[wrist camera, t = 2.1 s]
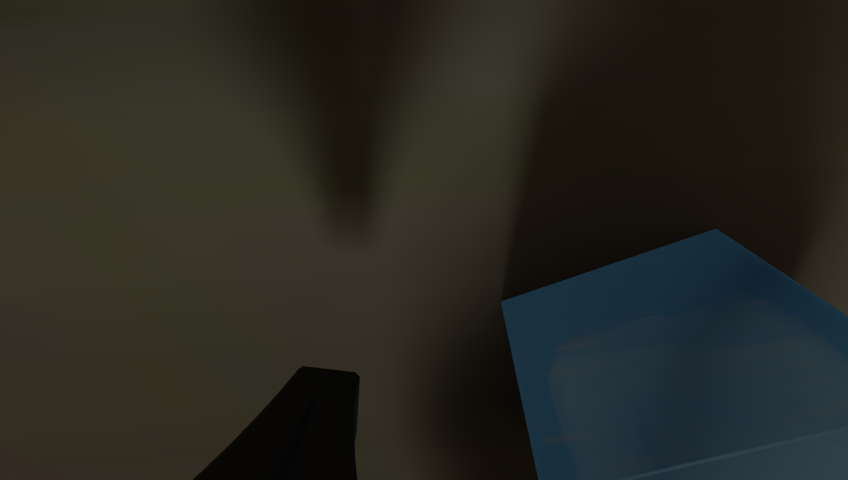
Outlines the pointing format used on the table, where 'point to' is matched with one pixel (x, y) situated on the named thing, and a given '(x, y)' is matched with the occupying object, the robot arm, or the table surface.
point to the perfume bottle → (682, 370)
